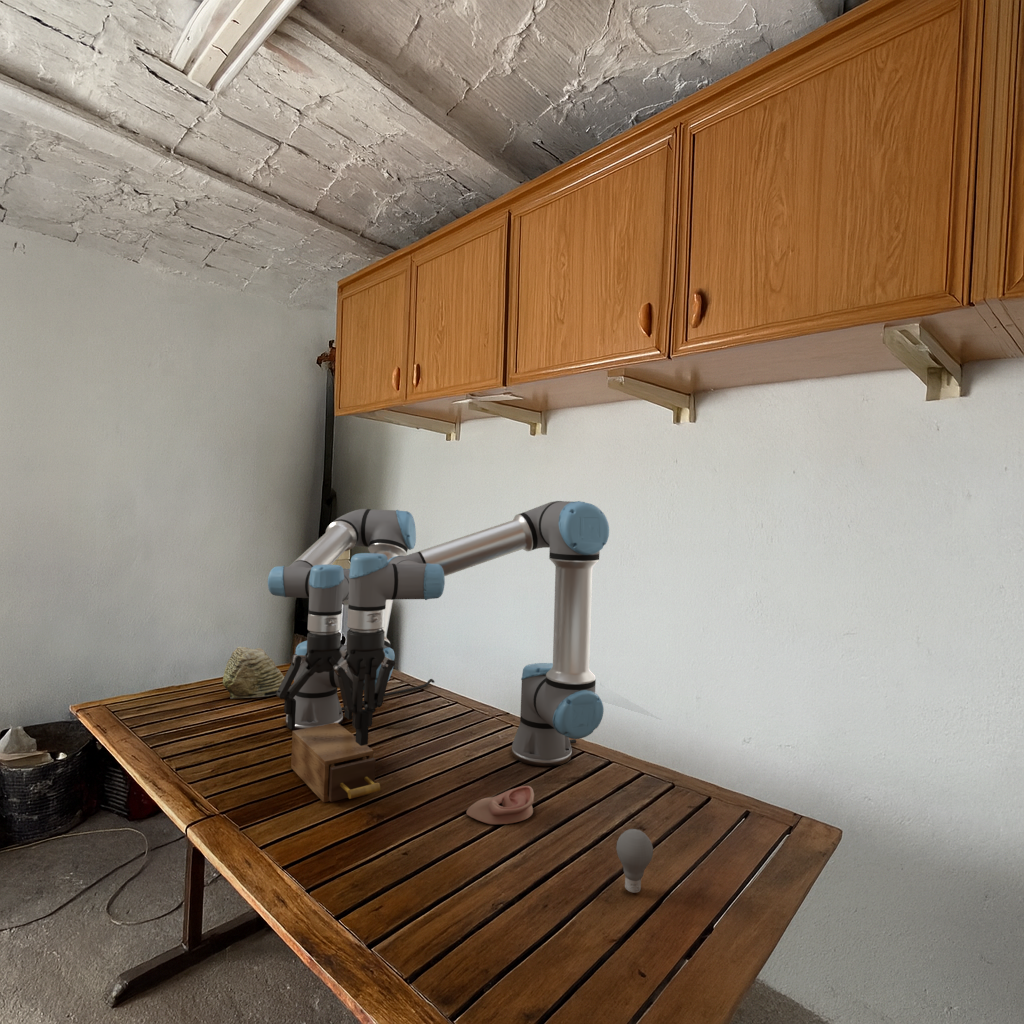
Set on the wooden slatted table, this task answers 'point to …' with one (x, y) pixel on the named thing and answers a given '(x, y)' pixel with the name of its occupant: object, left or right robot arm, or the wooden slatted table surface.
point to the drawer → (352, 779)
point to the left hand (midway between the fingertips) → (320, 722)
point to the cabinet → (323, 754)
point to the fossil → (251, 674)
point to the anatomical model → (504, 807)
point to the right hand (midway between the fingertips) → (361, 742)
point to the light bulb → (634, 857)
